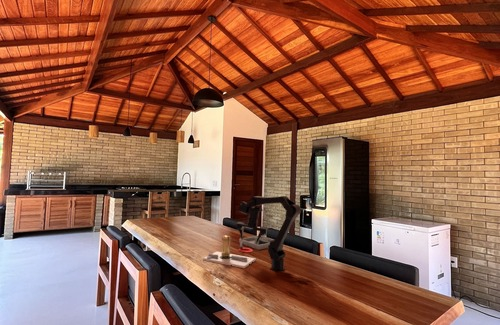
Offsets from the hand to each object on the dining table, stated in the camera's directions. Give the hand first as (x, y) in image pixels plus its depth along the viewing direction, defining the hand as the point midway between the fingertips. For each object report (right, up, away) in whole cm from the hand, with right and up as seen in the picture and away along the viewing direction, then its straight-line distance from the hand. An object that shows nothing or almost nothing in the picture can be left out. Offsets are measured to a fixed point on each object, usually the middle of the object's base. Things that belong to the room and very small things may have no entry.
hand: (249, 241), depth 164 cm
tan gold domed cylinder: (-15, -11, +2) cm, 18 cm away
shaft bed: (-12, -12, +1) cm, 17 cm away
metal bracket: (+9, -14, +42) cm, 46 cm away
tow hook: (-2, -13, +22) cm, 26 cm away
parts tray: (+8, -14, +41) cm, 44 cm away
